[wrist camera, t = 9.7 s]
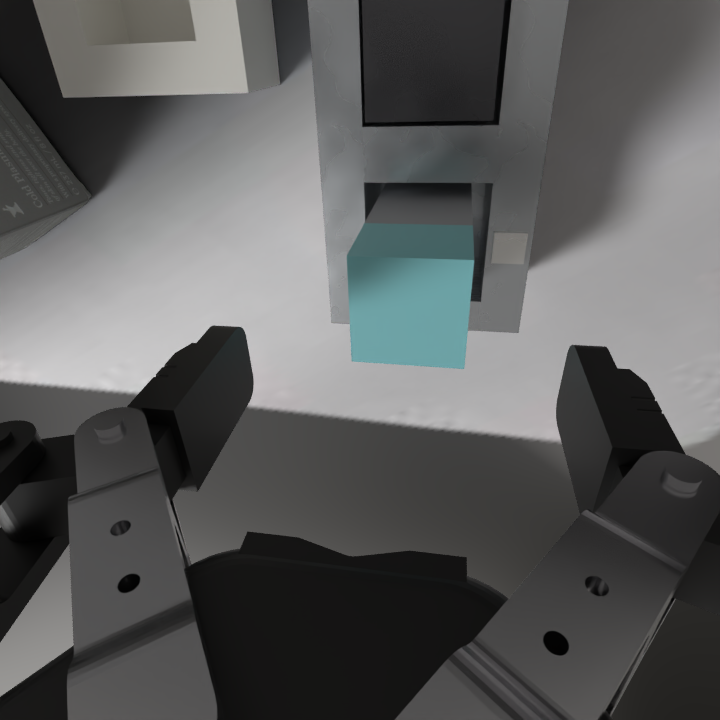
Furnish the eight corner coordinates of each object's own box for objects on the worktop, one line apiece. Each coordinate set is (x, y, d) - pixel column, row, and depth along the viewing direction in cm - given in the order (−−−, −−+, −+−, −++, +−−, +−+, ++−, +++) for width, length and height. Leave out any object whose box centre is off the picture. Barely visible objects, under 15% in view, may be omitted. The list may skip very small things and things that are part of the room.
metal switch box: (354, 274, 27) (327, 331, 22) (339, -65, 19) (292, -103, 14) (509, 280, 26) (520, 342, 20) (556, -83, 18) (593, -131, 13)
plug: (393, 169, 23) (346, 255, 14) (470, 170, 23) (473, 260, 14) (393, 243, 25) (351, 360, 16) (464, 245, 24) (463, 369, 15)
